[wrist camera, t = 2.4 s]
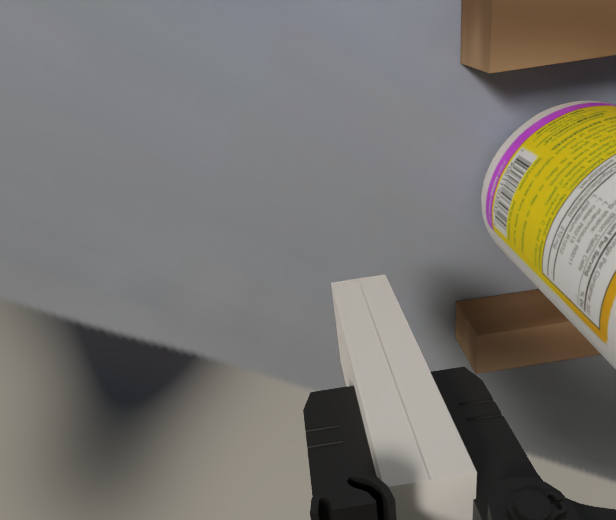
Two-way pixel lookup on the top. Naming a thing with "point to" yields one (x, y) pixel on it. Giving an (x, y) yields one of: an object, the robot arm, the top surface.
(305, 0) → the top surface
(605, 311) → the supplement bottle
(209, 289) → the top surface
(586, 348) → the wooden frame
